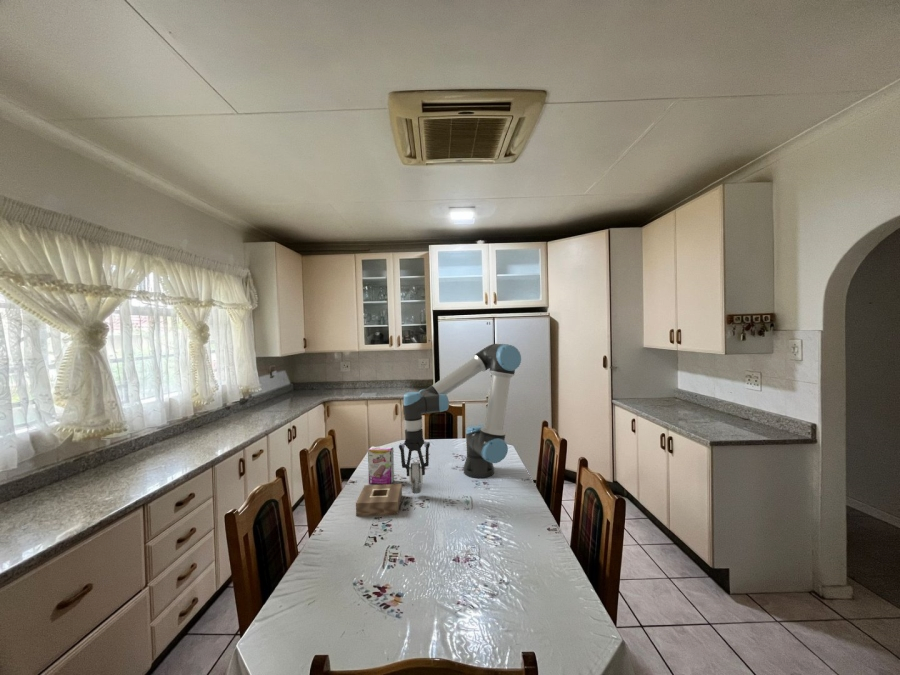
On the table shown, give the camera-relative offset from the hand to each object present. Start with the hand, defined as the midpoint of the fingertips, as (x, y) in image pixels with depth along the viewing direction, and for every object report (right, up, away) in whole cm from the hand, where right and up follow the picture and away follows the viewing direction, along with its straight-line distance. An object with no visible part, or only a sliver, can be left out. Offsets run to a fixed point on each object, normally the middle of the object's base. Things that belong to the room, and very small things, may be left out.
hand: (416, 482), depth 152 cm
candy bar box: (-18, -6, +15) cm, 24 cm away
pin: (0, -4, 0) cm, 4 cm away
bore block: (-14, -7, -7) cm, 17 cm away
